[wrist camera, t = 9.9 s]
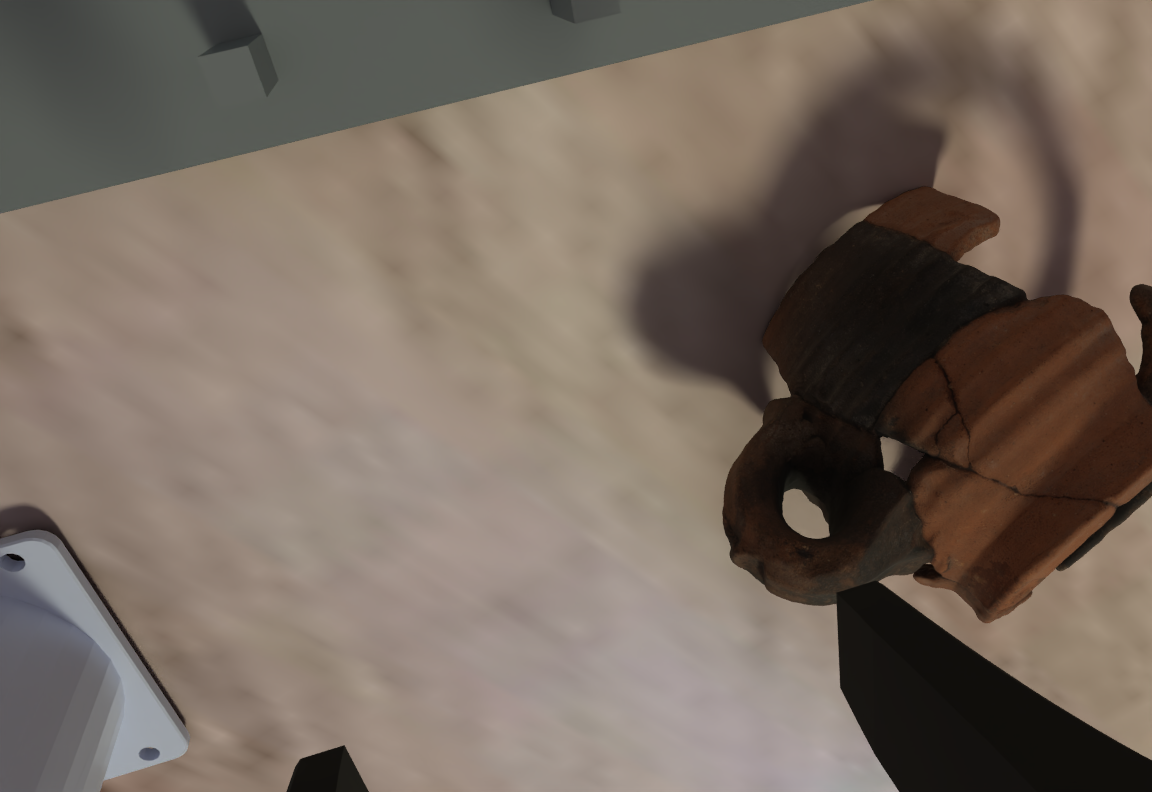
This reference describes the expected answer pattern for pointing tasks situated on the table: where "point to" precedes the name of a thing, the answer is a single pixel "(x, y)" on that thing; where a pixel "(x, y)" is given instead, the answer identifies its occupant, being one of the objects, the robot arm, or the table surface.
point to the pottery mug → (939, 419)
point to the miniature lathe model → (291, 71)
